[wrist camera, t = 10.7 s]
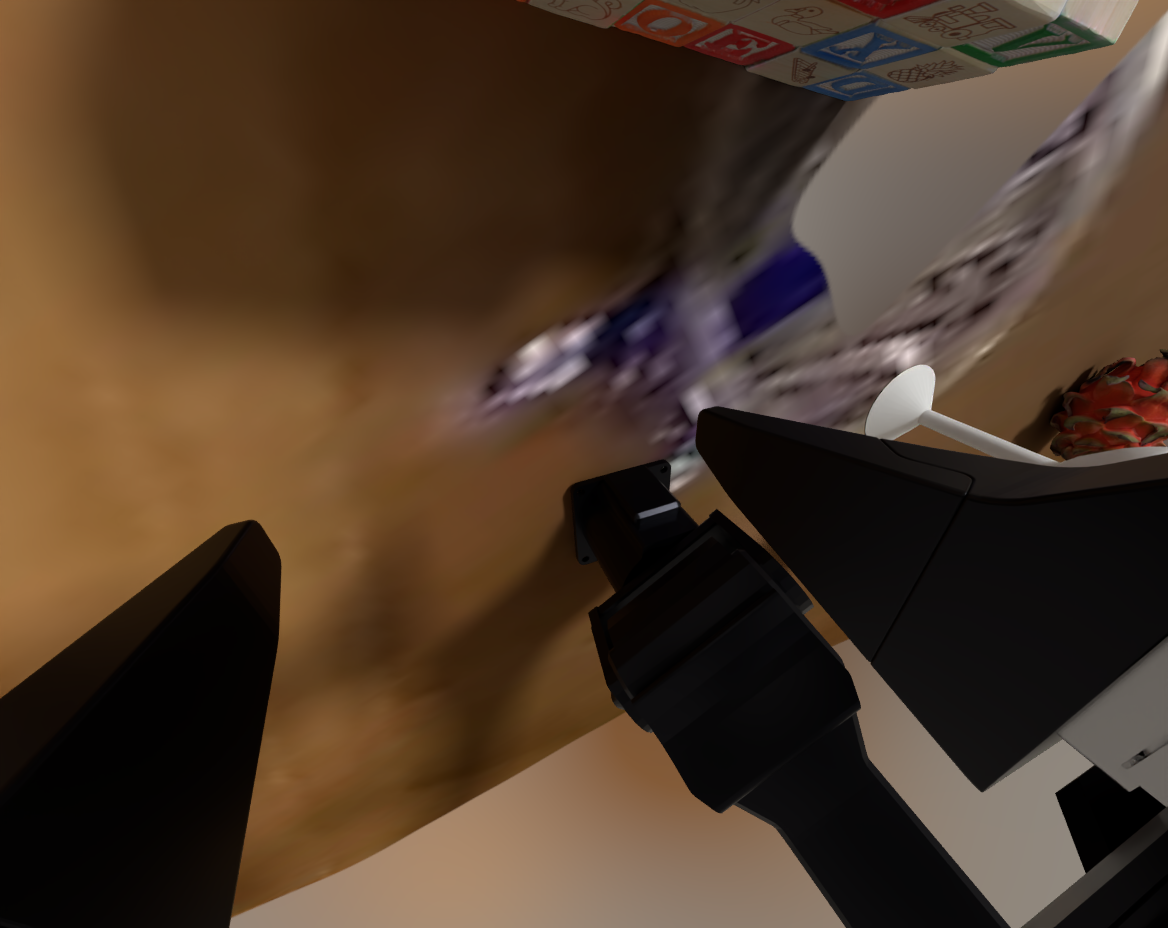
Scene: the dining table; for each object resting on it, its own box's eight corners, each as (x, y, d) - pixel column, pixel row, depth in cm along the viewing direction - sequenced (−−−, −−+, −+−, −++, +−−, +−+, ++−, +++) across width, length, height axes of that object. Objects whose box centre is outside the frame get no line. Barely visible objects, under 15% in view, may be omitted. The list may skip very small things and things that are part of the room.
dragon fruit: (1001, 449, 47) (1063, 339, 43) (1086, 471, 46) (1157, 360, 42) (1068, 470, 39) (1152, 337, 35) (1173, 498, 38) (1271, 363, 34)
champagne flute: (861, 458, 35) (1417, 775, 16) (869, 389, 31) (1632, 707, 12) (926, 421, 36) (1532, 682, 17) (943, 349, 31) (1772, 588, 13)
